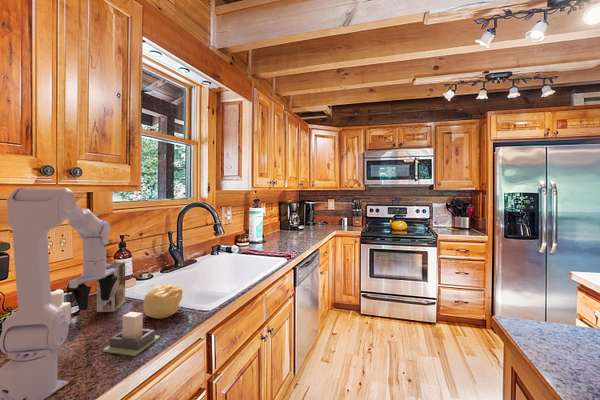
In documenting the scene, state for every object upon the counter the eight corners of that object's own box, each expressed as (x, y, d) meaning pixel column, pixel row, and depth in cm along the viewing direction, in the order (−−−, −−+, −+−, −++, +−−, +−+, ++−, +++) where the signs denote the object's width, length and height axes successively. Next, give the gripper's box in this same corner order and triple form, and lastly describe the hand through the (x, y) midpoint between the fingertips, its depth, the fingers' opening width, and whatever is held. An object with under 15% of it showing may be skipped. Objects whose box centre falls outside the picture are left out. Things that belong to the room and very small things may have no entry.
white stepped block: (29, 333, 88) (29, 294, 88) (48, 323, 95) (49, 287, 95) (53, 334, 88) (53, 294, 88) (71, 323, 95) (71, 287, 95)
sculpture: (165, 324, 96) (165, 291, 96) (135, 319, 99) (136, 288, 99) (187, 311, 107) (187, 282, 107) (160, 307, 110) (160, 279, 110)
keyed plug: (134, 345, 81) (134, 317, 81) (120, 343, 82) (120, 315, 82) (142, 340, 84) (142, 313, 84) (128, 338, 85) (128, 311, 85)
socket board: (135, 355, 77) (135, 344, 77) (102, 351, 79) (103, 340, 79) (160, 337, 87) (160, 327, 87) (130, 334, 89) (130, 324, 89)
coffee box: (107, 303, 113) (108, 262, 113) (125, 302, 114) (126, 261, 114) (95, 312, 104) (96, 267, 104) (115, 311, 106) (115, 267, 105)
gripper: (103, 254, 95) (103, 295, 95) (59, 264, 81) (59, 312, 81) (122, 255, 94) (122, 297, 94) (81, 265, 79) (80, 315, 80)
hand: (94, 304), depth 87 cm, fingers open, 7 cm apart
